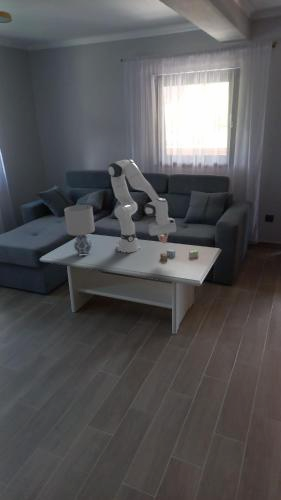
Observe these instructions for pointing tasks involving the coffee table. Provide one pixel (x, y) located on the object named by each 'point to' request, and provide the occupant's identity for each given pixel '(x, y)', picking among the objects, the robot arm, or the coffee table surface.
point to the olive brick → (193, 254)
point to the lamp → (80, 226)
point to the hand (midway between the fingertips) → (163, 239)
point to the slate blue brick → (170, 253)
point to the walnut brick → (163, 257)
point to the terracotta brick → (163, 238)
